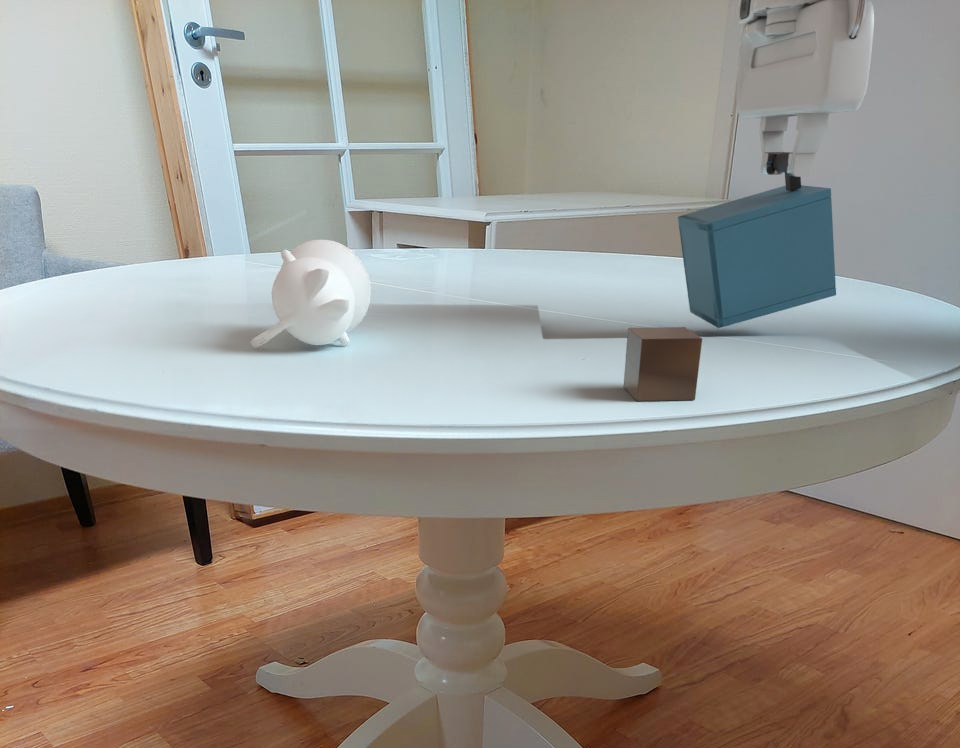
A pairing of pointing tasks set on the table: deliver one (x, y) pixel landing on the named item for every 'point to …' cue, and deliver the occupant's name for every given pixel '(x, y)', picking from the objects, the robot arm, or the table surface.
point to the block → (662, 363)
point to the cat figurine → (319, 294)
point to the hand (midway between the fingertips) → (784, 175)
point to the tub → (759, 252)
